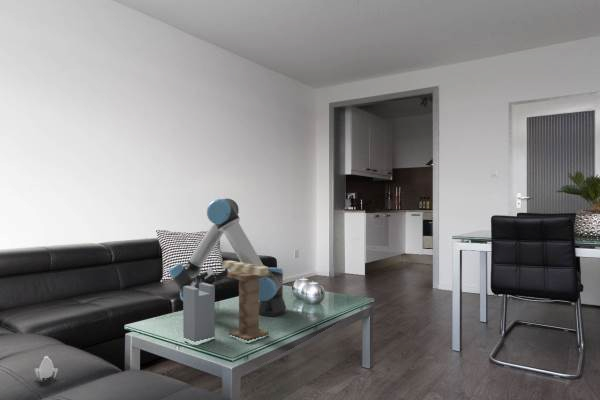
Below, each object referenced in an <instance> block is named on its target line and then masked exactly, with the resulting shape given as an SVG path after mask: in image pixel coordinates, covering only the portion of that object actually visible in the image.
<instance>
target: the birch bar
mask: <svg viewBox="0 0 600 400" xmlns="http://www.w3.org/2000/svg"><path fill="white" fill-rule="evenodd" d="M264 266H265V265H264ZM264 266H258V265H253V264H247V263H242V262H241V261H236V260H235V261H234V260H230V259H227V260H222V261H221V268H222V269H226V270H227V269H230V270H235V271H240V272H244V273H249V274H254V275H259V276H264V275H268V268H269V266H267V267H264Z"/></svg>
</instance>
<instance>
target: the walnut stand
mask: <svg viewBox="0 0 600 400" xmlns="http://www.w3.org/2000/svg"><path fill="white" fill-rule="evenodd" d="M269 276H270V271H268V275H264V276H259V275H254V274H249V273H244V272H240V271H233V272H227V278H230V279H234V280H238V329H234V330H232V331H230V332H228V336H229V335H232V336H235V337H238V338H241V339H244V340H247V341H249V340H252V339H256V338H259V337H263V336H266V335H269V336H270V332H269V331H267V330H264V329H261V328H260V315H259V278H264V277H269Z"/></svg>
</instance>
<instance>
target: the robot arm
mask: <svg viewBox="0 0 600 400" xmlns="http://www.w3.org/2000/svg"><path fill="white" fill-rule="evenodd" d="M239 210H240V209H239V205H238V203H237V202H236V201H235V200H233V199H231V198H217V199H215V200H213V201H211V202H210V203H209V204H208V205H207V208H206V216H207V219H208V220H209V222H210V223H211V225H210V226H209V228H208V230H207V231H206V233H204V236H203V237H202V239H201V240H200V242H199V244H198V246H197V247H196V248H195V250H194V251H193V253H192V255H191V257H190V258H189V260H188V261H187V263H186V264H185V265H183V264H182V263H181V262H180V263H177V264H175V265H174V266H172V267H171V268H169V269H168V273H169V275H170V277H171V278H172V280H173V282H174V284H176V287H177V288H178V290H179V291H180V293H179V299H180V300H181V301H182V302H183V287H184V286H191V287H194V288H198V289H199V283H207V284H211V285H214V284H215V283H220V282H221V281H222V280H225V279H226V278H228V277H227V272H233V271H235V270H230V269H226V270H223V271H221V272H219V273H217V274H216V273H215V272H214V269H213V267H209V268H208V269H207V270H205V271H204V272H203V273H201V270H202V267H203V265H204V264H205V262H206V261H207V259H208V258H209V257H210V255H211V253H212V252H213V250H214V248H215V247H216V246H217V244H218V242H219V241H220V239H221V238H222V236H225V237H226V239H227V241H228V243H229V244H230V246H231V247H232V249H233V251H234V253H235V254H236V256H237V258H238V260H239V262H242V263H247V264H253V265H258V266H264V267H268V266H266V265H264V264H263V262H262V260H261V259H260V256H259V255H258V253H257V252H256V250H255V248H254V246H253V245H252V243H251V241H250V240H249V237H248V236H247V234H246V233H245V231H244V230H243V229H244V228H243V227H242V226H241V224H240V221H241V220H240V216H239V213H240V212H239ZM223 234H224V235H223ZM268 271H270V276H269V277H264V278H259V316H263V317H278V316H279V317H280V316H282V315H285V314H286V313H287V305H286V303H285V300H284V299H285V298H284V297H283V296H284V291H283V289H284V288H283V285H284V283H283V282H284V280H283V279H284V278H283V277H284V270H283V268H281V267H268ZM194 278H195V279H194ZM193 279H194V280H193Z"/></svg>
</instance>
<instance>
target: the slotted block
mask: <svg viewBox="0 0 600 400" xmlns="http://www.w3.org/2000/svg"><path fill="white" fill-rule="evenodd" d="M215 288H216V286H215V285H214V284H212V285H211V284H207V283H199V289H198V288H194V287H191V286H184V287H183V301H182V302H183V303H182V306H183V307H182V309H183V310H182V311H183V315H182V316H183V318H182V319H183V320H182V321H183V322H182V323H183V326H182V327H183V328H182V329H183V331H182V333H183V338H186V339H189V340H191V341H194V342H196V341H200V340H204V339H208V338H212V337H215V338H216V333H215V332H216V331H215V329H216V327H215V326H216V325H215V324H216V322H215V321H216V317H215V315H216V307H215V305H216V304H215V303H216V301H215V300H216V297H215V296H216V295H215V294H216V292H215V291H216V289H215Z"/></svg>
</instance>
